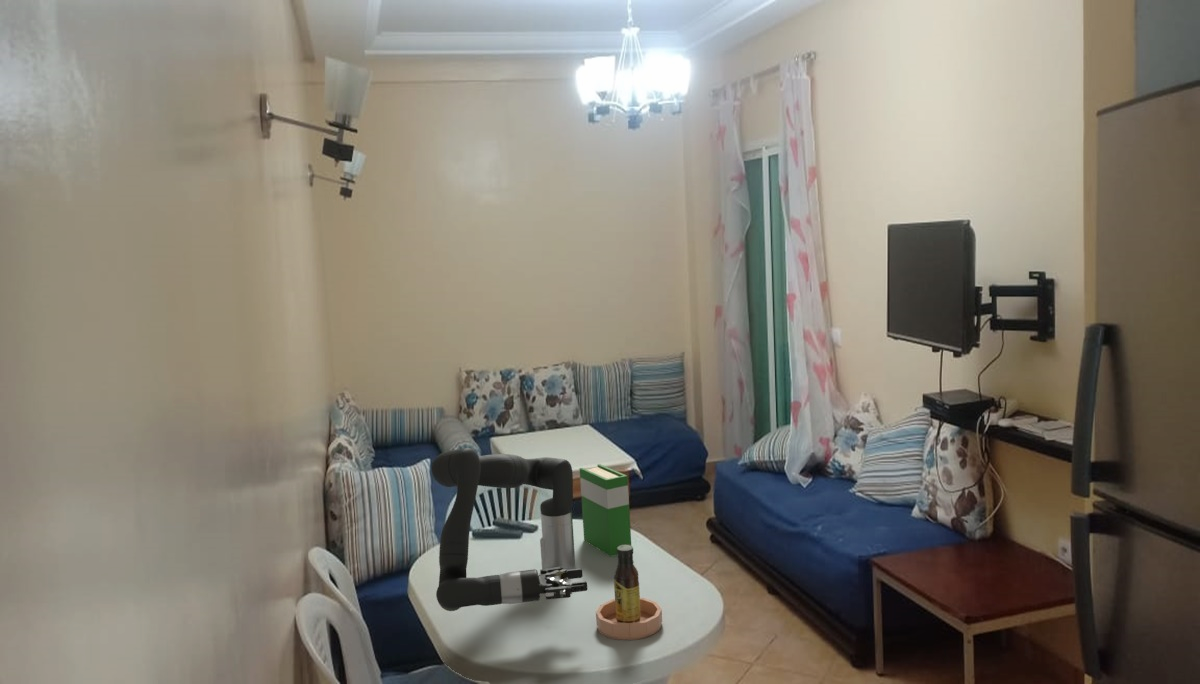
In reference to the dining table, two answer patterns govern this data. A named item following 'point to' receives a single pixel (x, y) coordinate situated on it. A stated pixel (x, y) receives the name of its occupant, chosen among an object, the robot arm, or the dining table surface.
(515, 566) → the dining table surface
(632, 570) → the sauce bottle
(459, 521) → the robot arm
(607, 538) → the hardback book
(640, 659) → the dining table surface
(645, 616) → the terracotta bowl
